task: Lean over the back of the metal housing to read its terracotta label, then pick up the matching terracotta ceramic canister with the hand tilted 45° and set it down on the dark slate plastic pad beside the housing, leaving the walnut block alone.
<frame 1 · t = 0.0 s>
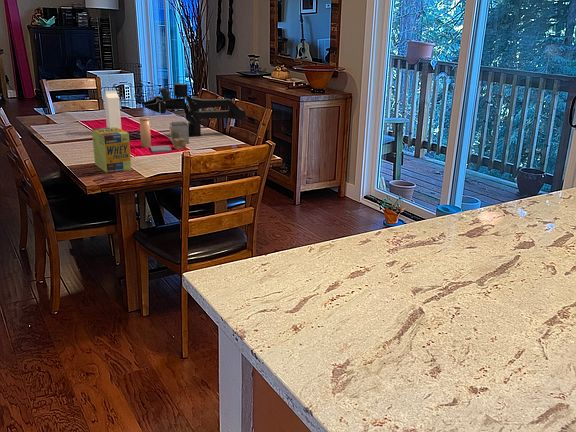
hand: (143, 105, 282), 17 cm above the table, tool horizontal, fingers open, 9 cm apart
housing: (179, 141, 280), on the table
milk: (114, 133, 295), on the table
protein box: (113, 167, 234), on the table
canister: (146, 146, 269), on the table
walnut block: (179, 148, 268), on the table
pad: (160, 149, 264), on the table
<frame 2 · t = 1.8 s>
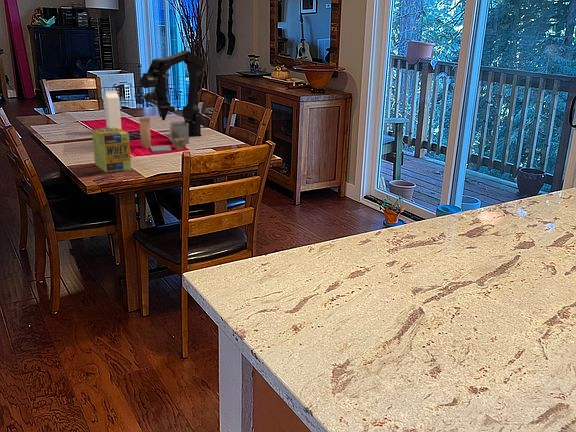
hand: (162, 118, 273), 12 cm above the table, tool pointing down, fingers open, 9 cm apart
nothing on the table moved.
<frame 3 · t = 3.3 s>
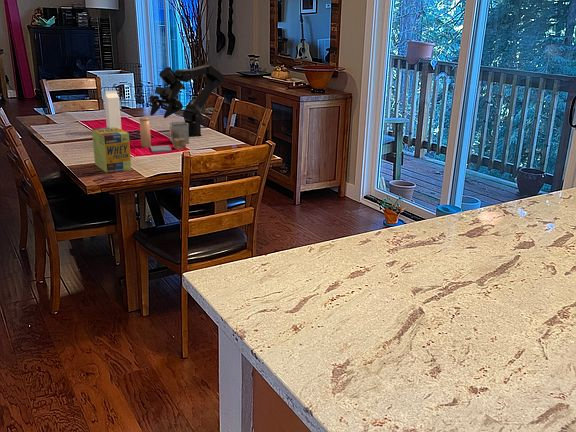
hand: (157, 116, 271), 13 cm above the table, tool tilted 45°, fingers open, 9 cm apart
nothing on the table moved.
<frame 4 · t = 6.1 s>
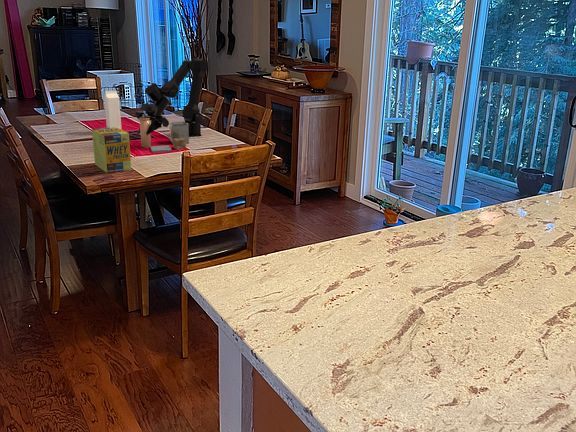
hand: (143, 133, 266), 7 cm above the table, tool tilted 45°, fingers closed on canister, 5 cm apart
canister: (146, 146, 269), on the table, touching gripper
everything else where it was.
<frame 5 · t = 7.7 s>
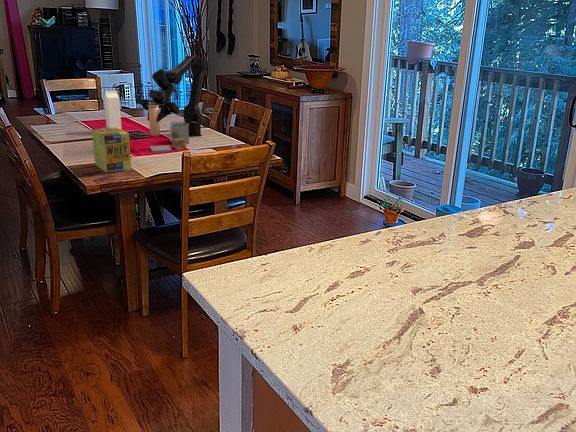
hand: (152, 120, 259), 14 cm above the table, tool tilted 45°, fingers closed on canister, 5 cm apart
canister: (155, 134, 263), point 7 cm above the table, touching gripper
everything else where it was.
when the fingers open (9 cm above the table, at t = 9.3 s): canister drops 1 cm, resting on pad.
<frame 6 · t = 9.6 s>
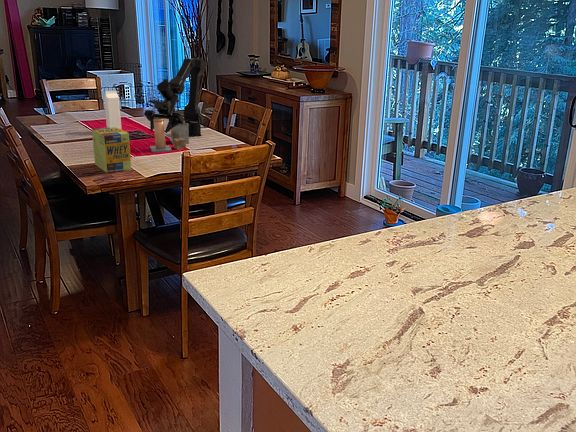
hand: (158, 131, 260), 9 cm above the table, tool tilted 45°, fingers open, 7 cm apart
canister: (160, 147, 264), point 1 cm above the table, touching pad
everything else where it was.
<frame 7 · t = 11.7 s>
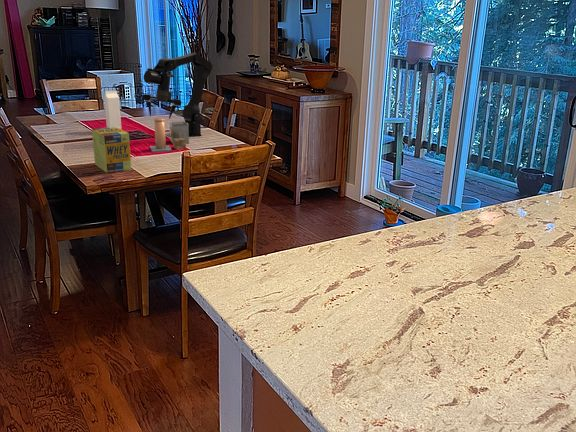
hand: (159, 117, 275), 12 cm above the table, tool pointing down, fingers open, 9 cm apart
nothing on the table moved.
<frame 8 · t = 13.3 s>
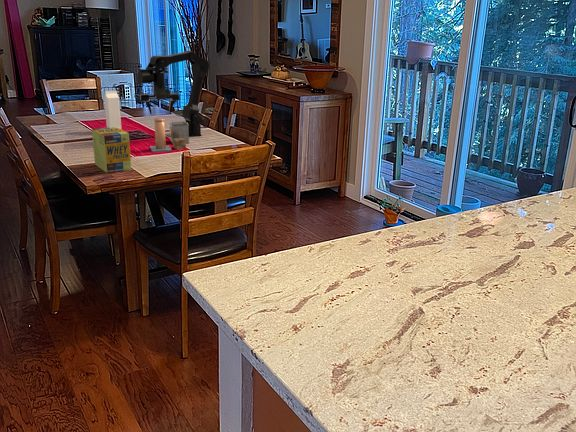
hand: (160, 114, 278), 13 cm above the table, tool pointing down, fingers open, 9 cm apart
nothing on the table moved.
at the end: canister inside the target area on the pad (0.0 cm from its centre), point 0.8 cm above the pad's base; canister tilted 0°; the gripper is holding nothing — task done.
